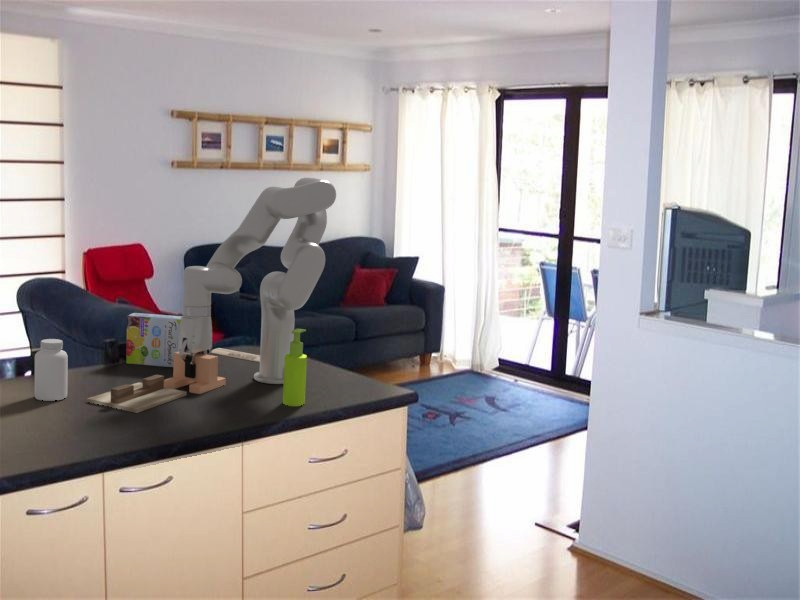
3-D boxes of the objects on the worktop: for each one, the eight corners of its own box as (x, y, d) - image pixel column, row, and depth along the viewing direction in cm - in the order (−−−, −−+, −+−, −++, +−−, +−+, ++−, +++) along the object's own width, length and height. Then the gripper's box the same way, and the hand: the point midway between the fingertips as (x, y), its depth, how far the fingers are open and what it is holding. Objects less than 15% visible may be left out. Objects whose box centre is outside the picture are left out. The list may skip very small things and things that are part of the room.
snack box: (199, 365, 280) (201, 317, 277) (193, 370, 274) (195, 320, 272) (132, 359, 282) (133, 311, 279) (125, 364, 276) (125, 314, 274)
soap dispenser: (310, 401, 249) (313, 328, 245) (298, 407, 242) (302, 333, 239) (290, 398, 250) (293, 326, 247) (278, 404, 244) (282, 330, 241)
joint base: (186, 395, 247) (186, 379, 246) (137, 413, 229) (137, 395, 228) (138, 385, 253) (139, 369, 252) (86, 402, 235) (87, 385, 234)
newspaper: (282, 363, 292) (282, 357, 292) (269, 367, 286) (269, 361, 285) (221, 352, 302) (222, 346, 302) (208, 355, 296) (208, 350, 295)
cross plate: (225, 384, 260) (226, 353, 258) (199, 394, 249) (200, 361, 247) (190, 378, 264) (191, 347, 263) (163, 387, 254) (164, 355, 252)
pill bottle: (74, 396, 239) (74, 340, 237) (50, 403, 232) (50, 345, 229) (51, 391, 242) (51, 336, 240) (27, 398, 235) (27, 341, 233)
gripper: (203, 305, 262) (202, 367, 265) (166, 313, 247) (165, 379, 250) (225, 308, 259) (224, 371, 262) (189, 317, 244) (187, 384, 247)
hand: (195, 375), depth 256 cm, fingers closed on cross plate, 4 cm apart
